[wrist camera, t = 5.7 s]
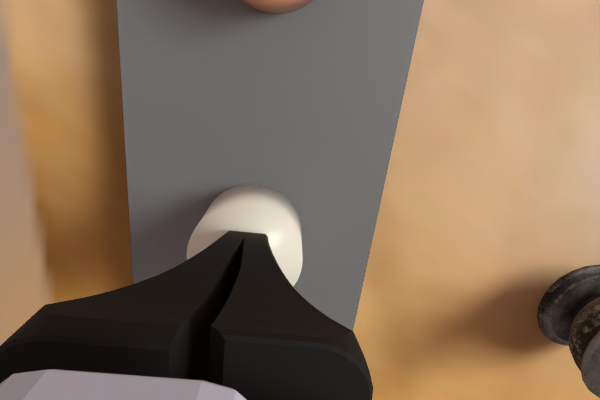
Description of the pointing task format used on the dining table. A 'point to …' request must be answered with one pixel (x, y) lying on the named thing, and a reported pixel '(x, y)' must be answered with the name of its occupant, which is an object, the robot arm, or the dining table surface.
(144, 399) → the robot arm
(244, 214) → the knob
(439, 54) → the dining table surface
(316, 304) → the control board
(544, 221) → the dining table surface
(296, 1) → the knob
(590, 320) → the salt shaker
